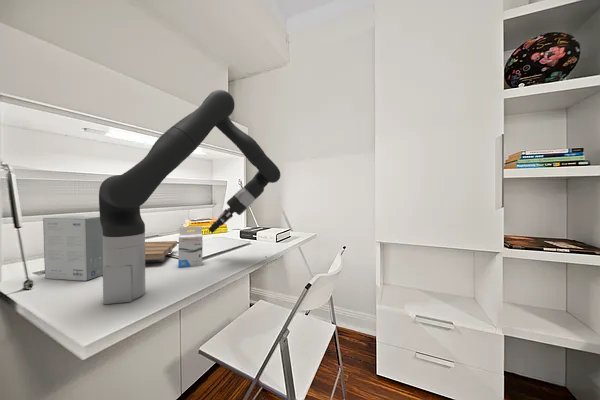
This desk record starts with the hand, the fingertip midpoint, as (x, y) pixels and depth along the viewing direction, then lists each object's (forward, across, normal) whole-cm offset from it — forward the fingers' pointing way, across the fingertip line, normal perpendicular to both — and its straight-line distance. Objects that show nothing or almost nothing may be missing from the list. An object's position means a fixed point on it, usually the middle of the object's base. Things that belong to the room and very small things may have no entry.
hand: (211, 229), depth 93 cm
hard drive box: (+39, +5, -20) cm, 44 cm away
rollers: (+27, -11, -8) cm, 30 cm away
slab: (+25, -11, -10) cm, 29 cm away
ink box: (+15, 0, +4) cm, 16 cm away
